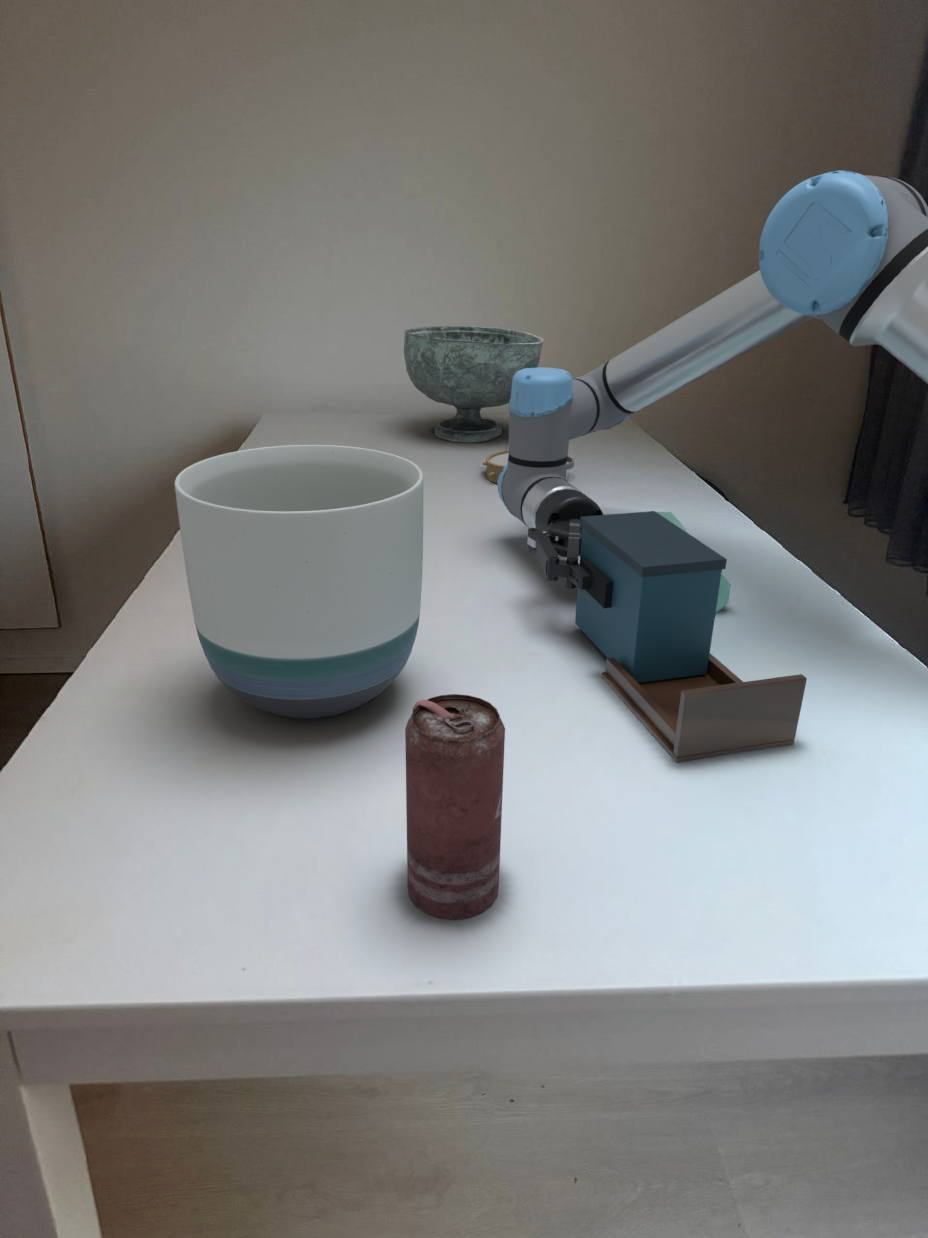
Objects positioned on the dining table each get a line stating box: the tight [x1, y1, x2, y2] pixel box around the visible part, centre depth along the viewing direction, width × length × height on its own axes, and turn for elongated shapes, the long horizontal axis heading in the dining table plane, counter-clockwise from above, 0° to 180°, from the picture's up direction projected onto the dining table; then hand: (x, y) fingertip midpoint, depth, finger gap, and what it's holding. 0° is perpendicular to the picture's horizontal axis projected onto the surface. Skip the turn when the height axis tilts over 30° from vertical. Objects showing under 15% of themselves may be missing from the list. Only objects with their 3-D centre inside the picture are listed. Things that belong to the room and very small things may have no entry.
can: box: [404, 693, 506, 921], centre depth 58 cm, size 6×6×14 cm
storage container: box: [574, 510, 727, 683], centre depth 90 cm, size 14×8×12 cm, turn 16°
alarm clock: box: [482, 449, 575, 484], centre depth 152 cm, size 11×5×15 cm
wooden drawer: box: [600, 653, 808, 764], centre depth 82 cm, size 15×11×7 cm
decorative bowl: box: [403, 325, 544, 443], centre depth 176 cm, size 26×26×20 cm
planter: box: [174, 444, 424, 719], centre depth 80 cm, size 20×20×21 cm
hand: (649, 591), depth 89 cm, fingers closed on storage container, 8 cm apart
